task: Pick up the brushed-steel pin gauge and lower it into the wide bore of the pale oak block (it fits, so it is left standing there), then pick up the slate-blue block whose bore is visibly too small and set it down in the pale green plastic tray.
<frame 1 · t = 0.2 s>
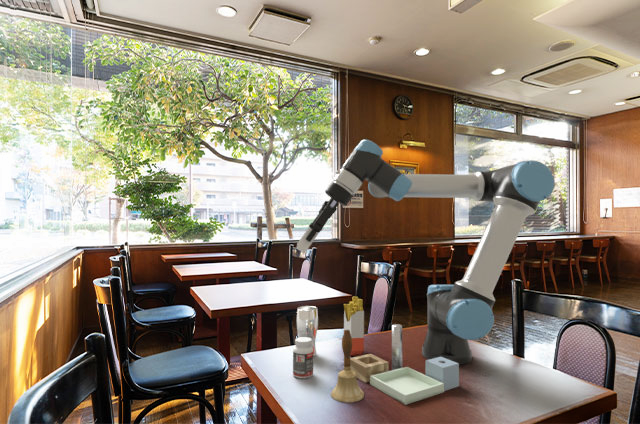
hand: (300, 249, 108), 35 cm above the table, tool tilted 35°, fingers open, 13 cm apart
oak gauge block: (368, 374, 107), on the table
hand bell: (347, 396, 94), on the table
slate-blue block: (442, 384, 100), on the table
pin gauge: (397, 370, 110), on the table
pill bottle: (303, 375, 106), on the table
french fries container: (352, 353, 125), on the table
tray: (406, 388, 98), on the table
beer glass: (307, 355, 123), on the table
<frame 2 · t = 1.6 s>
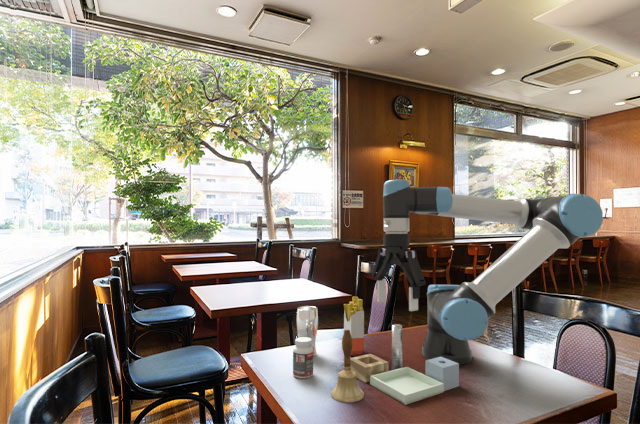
hand: (396, 305, 110), 19 cm above the table, tool pointing down, fingers open, 13 cm apart
nothing on the table moved.
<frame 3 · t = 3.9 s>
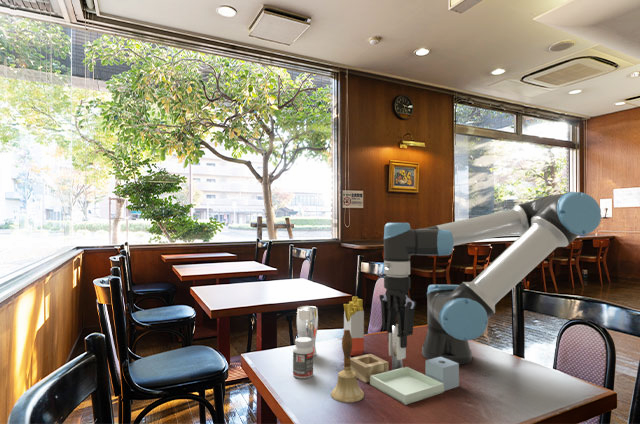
hand: (397, 356, 110), 4 cm above the table, tool pointing down, fingers closed on pin gauge, 3 cm apart
pin gauge: (397, 370, 110), on the table, touching gripper
everything else where it was.
when the fingers open (6 cm above the table, at t = 8.3 s): pin gauge stays where it is, on the table.
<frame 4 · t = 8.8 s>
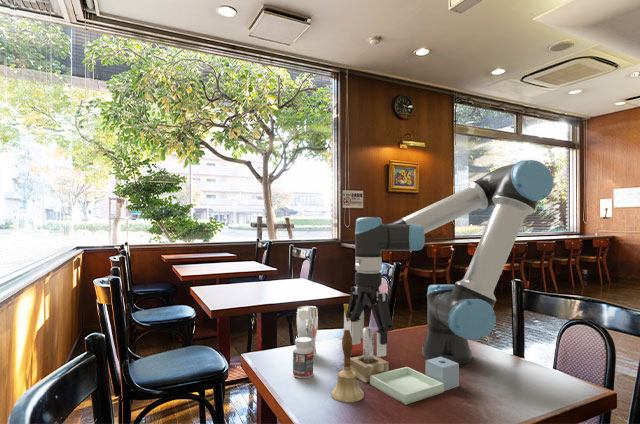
hand: (368, 349, 107), 7 cm above the table, tool pointing down, fingers open, 11 cm apart
pin gauge: (368, 374, 107), on the table
everything else where it was.
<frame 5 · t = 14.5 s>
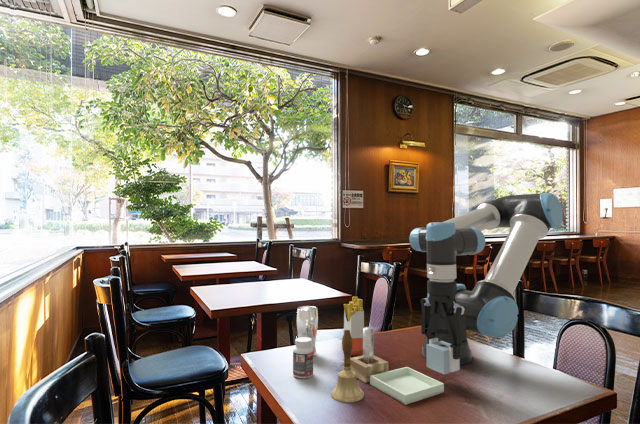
hand: (443, 366, 101), 5 cm above the table, tool pointing down, fingers closed on slate-blue block, 6 cm apart
slate-blue block: (443, 368, 101), point 4 cm above the table, touching gripper
everything else where it was.
when the fingers open (2 cm above the table, at t = 18.5 s): slate-blue block stays where it is, resting on tray.
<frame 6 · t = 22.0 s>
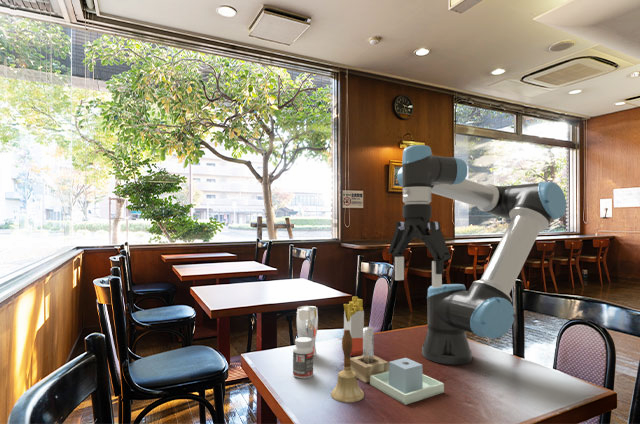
hand: (417, 283, 101), 27 cm above the table, tool pointing down, fingers open, 13 cm apart
slate-blue block: (405, 386, 98), resting on tray
everything else where it was.
at the end: slate-blue block inside the target area on the tray (0.3 cm from its centre), point 0.5 cm above the tray's base; pin gauge 0.0 cm off-centre on the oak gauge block, point 0.0 cm above the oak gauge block's base; the gripper is holding nothing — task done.
